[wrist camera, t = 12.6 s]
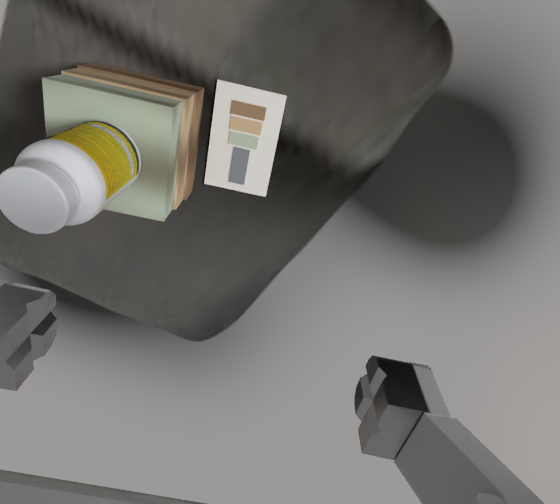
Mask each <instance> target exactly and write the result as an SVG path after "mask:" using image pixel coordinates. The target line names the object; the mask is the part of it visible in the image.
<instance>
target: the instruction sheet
mask: <svg viewBox="0 0 560 504" xmlns="http://www.w3.org/2000/svg"><path fill="white" fill-rule="evenodd" d="M286 98H287V96H286V95H282V94H278V93H274V92H270V91H265V90H261V89H257V88H253V87H248V86H244V85H240V84H236V83H231V82H227V81H223V80H219V79H217V86H216V94H215V102H214V110H213V118H212V125H211V133H210V141H209V149H208V157H207V165H206V173H205V181H204V184H208V185H213V186H217V187H222V188H227V189H231V190H236V191H241V192H245V193H250V194H255V195H259V196H264V197H266V193H267V188H268V183H269V178H270V174H271V169H272V164H273V159H274V155H275V150H276V145H277V140H278V136H279V131H280V126H281V121H282V117H283V112H284V107H285V102H286Z"/></svg>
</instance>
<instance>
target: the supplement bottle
mask: <svg viewBox="0 0 560 504" xmlns="http://www.w3.org/2000/svg"><path fill="white" fill-rule="evenodd" d="M140 167H141V158H140V153H139V150H138V147H137V145H136V143H135V142H134V140H133V139H132V138H131V136H130V135H129V134H128V133H127V132H126V131H125V130H123V129H122V128H120V127H119V126H117V125H115V124H113V123H110V122H107V121H102V120H92V121H88V122H84V123H82V124H79V125H77V126H74V127H71V128H69V129H67V130H64V131H62V132H59V133H57V134H54V135H52V136H49V137H47V138H44V139H41V140H39V141H36V142H35V143H33V144H31V145H29V146H27V147H26V148H25V149H24V150H23V151H22V152H21V153H20V154H19V155H18V157H17V159H16V161H15V164H14V166H13V167H10V168H8V169H6V170H5V171H4V172H2V173H1V174H0V209H1V211H2V212H3V214H4V215H5V216H6V217H7V218H8V219H9V220H10V221H11V222H12V223H14V224H15V225H16V226H18V227H20V228H21V229H23V230H26V231H28V232H31V233H36V234H49V233H53V232H55V231H57V230H59V229H61V228H62V227H63V226H65V225H78V224H82V223H85V222H87V221H89V220H90V219H92V218H93V217H94V216H96V215H97V214H98V213H99V212H101V211H102V210H103V209H104V208H105V207H106V206H107V205H108V204H110V203H111V202H112V201H113V200H114V199H115V198H116V197H118V196H119V195H120V194H121V193H122V192H123V191H125V190H126V189H127V188H128V187H129V186H130V185H131V184H132V183H133V182H134V181H135V180H136V178H137V177H138V175H139V172H140Z"/></svg>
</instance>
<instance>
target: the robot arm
mask: <svg viewBox="0 0 560 504" xmlns="http://www.w3.org/2000/svg"><path fill="white" fill-rule="evenodd" d="M55 305H56V298H55V293H53V292H52V291H50V290H45V289H41V288H36V287H32V286H27V285H23V284H19V283H14V282H8V281H3V280H0V388H1V389H8V390H14V391H17V390H18V388H19V387H20V386H21V385H22V383H23V382H24V381H25V379H26V378H27V377H28V376H29V374H30V373H31V372H32V371H33V369H34V367H33V360H36V359H37V358H40V357H42V356H44V355H45V354H46V352H47V351H48V350H49V349H50V347H51V345H52V343H53V341H54V338H55V336H56V331H57V318H56V317H55V316H54V314H53V313H52V312H51V310H52V309H53V308H54V306H55ZM366 370H367V374H366V375H364V376H363V377H361V378H360V380H359V382H358V384H357V387H356V392H355V412H356V415H357V416H358V417H359V419H360V420H361V421H362V422H361V424H360V426H359V429H358V432H359V438H360V444H361V450H362V453H363V454H368V455H373V456H377V457H382V458H387V459H392V460H395V461H394V462H395V464H396V465H397V467H398V468H399V470H400V471H401V473H402V474H403V476H404V477H405V478H406V480H407V482H408V483H409V484H410V486H411V488H412V489H413V491H414V492H415V494H416V495H417V496H418V498H419V500H420V501H421V503H422V504H544V503H543V502H542V501H541V500H540V499H539V498H538V497H537V496H536V495H535V494H534V493H533V492H532V491H531V490H530V489H529V488H528V487H527V486H526V485H525V484H524V483H523V482H521V480H519V478H517V477H516V476H515V475H514V474H513V473H512V472H511V471H510V470H509V469H508V468H507V467H506V466H505V465H504V464H503V463H502V462H501V461H500V460H499V459H498V458H497V457H496V456H495V455H494V454H493V453H492V452H490V450H489V449H487V448H486V447H485V446H484V445H483V444H482V443H481V442H480V441H479V440H478V439H477V438H476V437H475V436H474V435H473V434H472V433H471V432H470V431H469V430H468V429H467V428H466V427H465V426H464V425H463V424H462V423H461V422H460V421H458V419H455V418H451V416H450V414H449V411H448V409H447V407H446V404H445V401H444V399H443V397H442V394H441V392H440V389H439V387H438V385H437V382H436V380H435V377H434V375H433V372H432V370H431V368H430V367H429V366H427V365H422V364H416V363H411V362H409V363H408V362H403V361H398V360H393V359H388V358H383V357H377V356H372V357H371V358H370V359H369V360H368V362H367V364H366ZM0 504H205V503H199V502H193V501H187V500H180V499H175V498H168V497H162V496H156V495H150V494H145V493H138V492H133V491H126V490H120V489H114V488H108V487H102V486H96V485H90V484H84V483H78V482H72V481H66V480H60V479H54V478H48V477H42V476H36V475H30V474H24V473H18V472H12V471H5V470H0Z"/></svg>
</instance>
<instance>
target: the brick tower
mask: <svg viewBox="0 0 560 504" xmlns="http://www.w3.org/2000/svg"><path fill="white" fill-rule="evenodd" d="M42 86H43V100H44V113H45V127H46V138H47V137H49V136H52V135H54V134H57V133H59V132H62V131H64V130H67V129H69V128H71V127H74V126H77V125H79V124H82V123H84V122H88V121H92V120H102V121H107V122H110V123H113V124H115V125H117V126H119V127H120V128H122V129H123V130H125V131H126V132H127V133H128V134H129V135H130V136H131V138H132V139H133V140H134V142H135V143H136V145H137V147H138V150H139V153H140V158H141V167H140V172H139V175H138V177H137V178H136V180H135V181H134V182H133V183H132V184H131V185H130V186H129V187H128V188H127V189H126V190H125V191H123V192H122V193H121V194H120V195H119V196H118V197H116V198H115V199H114V200H113V201H112V202H111V203H110V204H108V205H107V206H106V207H105V208H104V209H105V210H110V211H115V212H120V213H124V214H129V215H134V216H139V217H144V218H149V219H153V220H158V221H163V222H164V221H165V219H166V218H167V216H168V215H169V213H170V212H171V211H172V210H176V209H177V207H178V206H179V204H180V203H181V202H182V200H186V199H187V198H188V196H189V195H190V193H191V192H192V190H193V184H194V175H195V166H196V157H197V148H198V140H199V131H200V122H201V113H202V104H203V96H204V88H202V87H197V86H193V85H189V84H185V83H180V82H176V81H172V80H167V79H163V78H159V77H155V76H150V75H146V74H142V73H137V72H133V71H129V70H125V69H120V68H116V67H112V66H107V65H103V64H99V63H95V62H92V63H85V64H78V65H77V68H75V69H68V70H62V71H61V75H55V76H49V77H43V78H42Z"/></svg>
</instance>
